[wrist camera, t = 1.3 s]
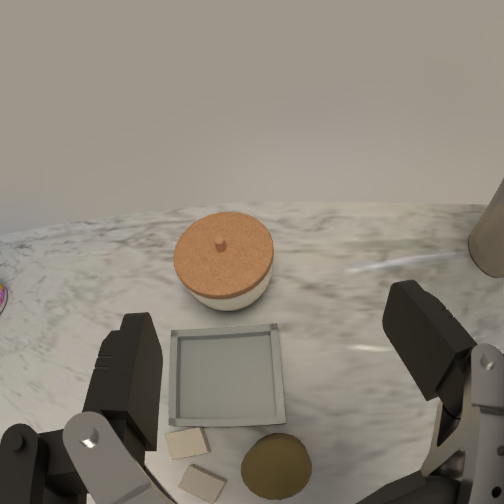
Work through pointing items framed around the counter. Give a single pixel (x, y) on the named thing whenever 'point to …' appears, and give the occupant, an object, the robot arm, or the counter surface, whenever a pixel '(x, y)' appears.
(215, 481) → the beige rectangular block
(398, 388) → the counter surface
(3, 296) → the supplement bottle
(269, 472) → the pepper mill
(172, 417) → the parts tray
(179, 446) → the tan block
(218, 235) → the lidded jar
